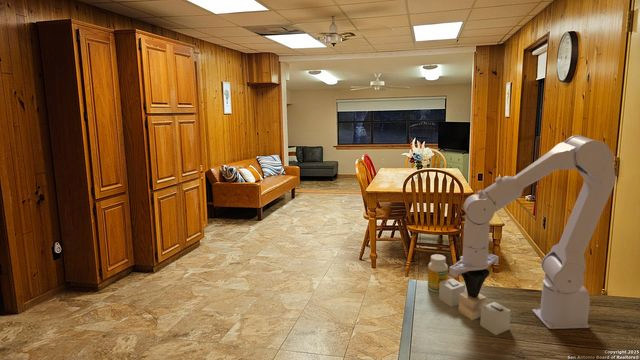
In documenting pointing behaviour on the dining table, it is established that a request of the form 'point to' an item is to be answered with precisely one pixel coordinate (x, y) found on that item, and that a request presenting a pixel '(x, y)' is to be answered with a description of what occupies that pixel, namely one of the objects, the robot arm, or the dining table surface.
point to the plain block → (471, 305)
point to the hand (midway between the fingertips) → (472, 295)
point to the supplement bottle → (437, 272)
